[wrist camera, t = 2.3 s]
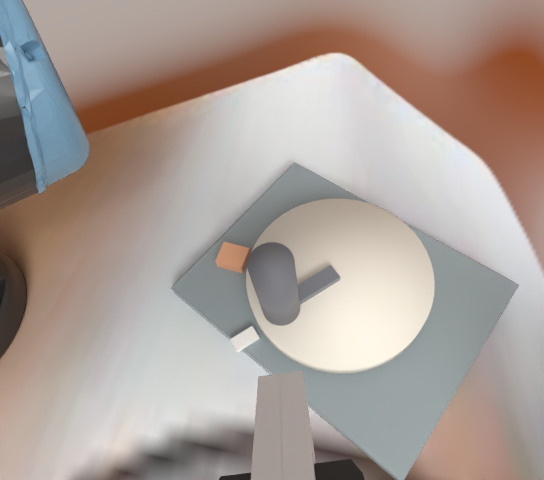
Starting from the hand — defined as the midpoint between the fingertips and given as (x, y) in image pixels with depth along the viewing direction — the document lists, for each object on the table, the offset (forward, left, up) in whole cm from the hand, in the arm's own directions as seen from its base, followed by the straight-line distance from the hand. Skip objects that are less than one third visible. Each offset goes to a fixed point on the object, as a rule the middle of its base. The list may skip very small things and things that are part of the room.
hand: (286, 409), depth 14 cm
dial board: (-5, +11, -17) cm, 20 cm away
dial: (-5, +11, -15) cm, 19 cm away
